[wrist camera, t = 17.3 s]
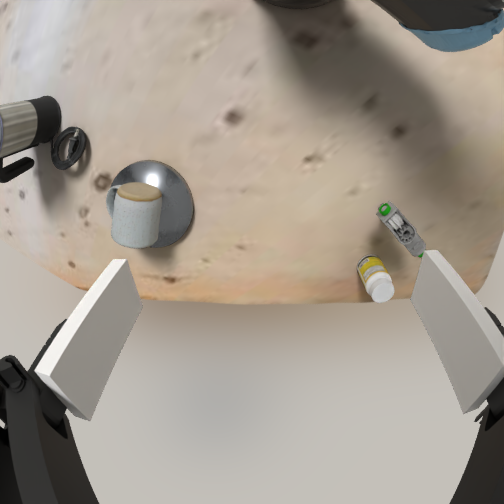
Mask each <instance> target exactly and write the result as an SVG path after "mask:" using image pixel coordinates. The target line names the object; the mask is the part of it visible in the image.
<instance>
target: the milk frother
mask: <svg viewBox="0 0 504 504" xmlns="http://www.w3.org/2000/svg"><path fill="white" fill-rule="evenodd" d="M60 119H61V114H60V108H59V105H58V103H57V101H56V100H55V99H54V98H53V97H50V96H43V97H41V98H38V99H32V100H26V101H20V102H14V103H8V104H3V105H0V183H6V182H8V181H10V180H12V179H13V178H15V177H17V176H19V175H20V174H22V173H24V172H25V171H27V170H29V169H30V168H32V167H33V166H34V160H33V159H31V158H29V157H24V158H22V159H20V160H18V161H16V162H14V163H12V164H10V165H8V166H6V167H4V168H2V167H3V158H5V157H8V156H10V155H13V154H16V153H18V152H21V151H23V150H26V149H29V148H32V147H35V146H38V145H39V143H47V142H49V141H50V142H51V157H52V161H53V164H54V165H55V167H56V168H58V169H61V170H65V169H67V168H69V167H71V166H72V165H74V164H75V163H76V162H77V161H78V159H79V158H80V157H81V155H82V154H83V152H84V149H85V145H86V136H85V133H84V132H83V130H82V129H80V128H78V127H69V128H67V129H65V130H64V131H63V132H62V133H61V134H60V135H59V136H58V138H57V140H56V142H55V144H54V148H53V138H54V137H55V135H56V133H57V131H58V129H59V125H60ZM71 133H75V135H74V136H73V137H71V138H69V139H70V143H69V149H68V152H69V153H68V156H67V158H68V159H67V160H65V161H61V160H60V158H59V154H58V152H59V146H60V144H61V142H62V141H63V139H64V138H65V137H66V136H67V135H69V134H71Z"/></svg>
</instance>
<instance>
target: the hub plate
mask: <svg viewBox="0 0 504 504" xmlns="http://www.w3.org/2000/svg"><path fill="white" fill-rule="evenodd" d="M132 182H140V183H146V184H150V185H153V186H155V187H157V188H158V189H159V190H160V191H161V193H162V207H161V214H160V223H159V232H158V239H157V241H156V242H155V243H154V244H153V245H151V246H149V247H155V248H157V247H164V246H168V245H170V244H172V243H174V242H176V241H177V240H178V239H180V238H181V237H182V235H183V234H184V233H185V231H186V230H187V228H188V226H189V225H190V222H191V220H192V216H193V198H192V194H191V191H190V189H189V187H188V185H187V183H186V181H185V180H184V178H183V177H182V176H181V175H180V174H179V173H178V172H177V171H176V170H175V169H173V168H172V167H170V166H168V165H166V164H164V163H162V162H158V161H154V160H144V161H139V162H136V163H133V164H131V165H129V166H127V167H126V168H124V169H123V170H122V171H120V173H119V174H118V175H117V176H116V177H115V179H114V181H113V183H112V185H111V187H113V186H117V185H123V184H126V183H132ZM117 190H118V189H116V193H117ZM116 193H115V196H116ZM114 201H115V197H114Z"/></svg>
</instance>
